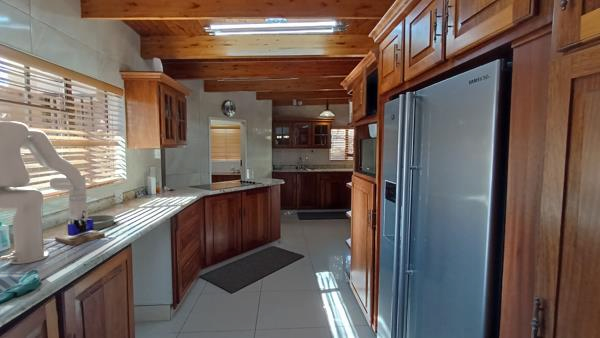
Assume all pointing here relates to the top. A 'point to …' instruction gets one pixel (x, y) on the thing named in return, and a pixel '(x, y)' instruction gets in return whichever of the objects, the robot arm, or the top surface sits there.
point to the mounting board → (79, 237)
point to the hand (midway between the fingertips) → (79, 230)
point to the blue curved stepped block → (74, 231)
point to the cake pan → (100, 221)
